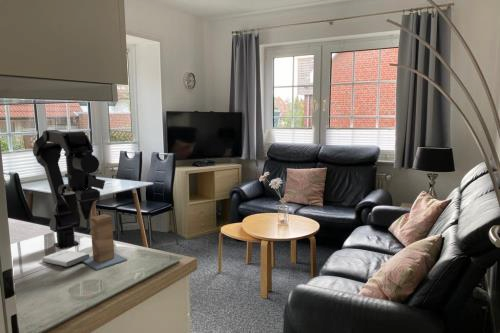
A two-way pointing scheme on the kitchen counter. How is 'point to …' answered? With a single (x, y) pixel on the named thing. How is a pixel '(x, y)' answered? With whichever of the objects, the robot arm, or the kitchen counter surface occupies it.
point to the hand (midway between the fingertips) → (80, 216)
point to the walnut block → (102, 238)
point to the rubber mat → (105, 264)
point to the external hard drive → (65, 257)
